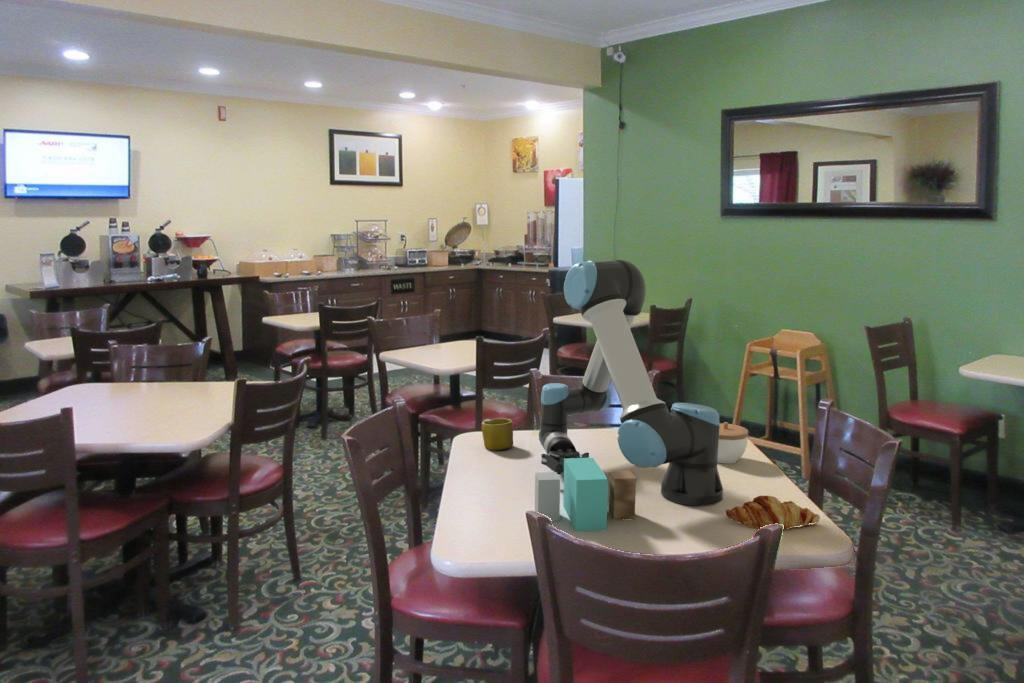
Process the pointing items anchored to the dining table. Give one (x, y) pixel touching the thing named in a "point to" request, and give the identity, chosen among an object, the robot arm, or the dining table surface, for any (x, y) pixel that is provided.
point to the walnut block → (622, 495)
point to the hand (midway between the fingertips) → (577, 479)
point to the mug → (497, 433)
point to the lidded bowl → (731, 443)
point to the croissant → (771, 513)
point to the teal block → (585, 494)
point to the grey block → (547, 494)
